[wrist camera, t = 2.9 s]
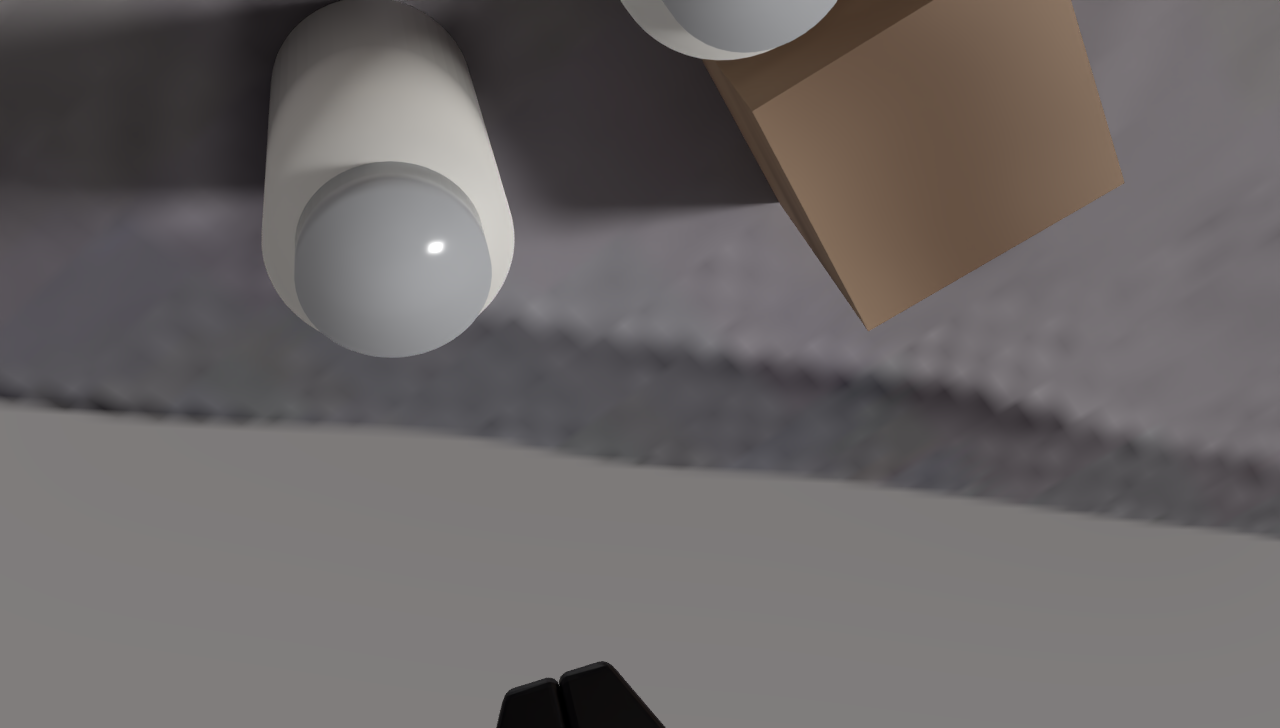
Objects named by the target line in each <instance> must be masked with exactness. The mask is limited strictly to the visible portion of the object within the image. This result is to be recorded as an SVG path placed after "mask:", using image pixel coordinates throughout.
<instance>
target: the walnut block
mask: <svg viewBox="0 0 1280 728" xmlns="http://www.w3.org/2000/svg"><path fill="white" fill-rule="evenodd" d="M702 61H703V63H704V65H705V66H706V68H707V70H708V72H709V74H710V76H711V78H712V79H713V81H714V83H715V85H716V87H717V89H718V90H719V92H720V94H721V96H722V98H723V100H724V102H725V103H726V105H727V107H728V109H729V111H730V113H731V114H732V116H733V118H734V120H735V122H736V124H737V125H738V127H739V129H740V131H741V133H742V135H743V137H744V138H745V140H746V142H747V144H748V146H749V148H750V149H751V151H752V153H753V155H754V157H755V159H756V160H757V162H758V164H759V166H760V168H761V170H762V172H763V173H764V175H765V177H766V179H767V181H768V183H769V184H770V186H771V188H772V190H773V192H774V194H775V195H776V197H777V199H778V201H779V203H780V204H781V206H782V207H783V209H784V210H785V211H786V213H787V214H788V216H789V217H790V219H791V220H792V222H793V223H794V224H795V226H796V227H797V229H798V230H799V232H800V233H801V235H802V236H803V237H804V239H805V240H806V242H807V243H808V245H809V246H810V248H811V249H812V251H813V252H814V253H815V255H816V256H817V258H818V259H819V261H820V262H821V264H822V265H823V266H824V268H825V269H826V271H827V272H828V274H829V275H830V277H831V278H832V279H833V281H834V282H835V284H836V285H837V287H838V288H839V290H840V291H841V292H842V294H843V295H844V297H845V298H846V300H847V301H848V303H849V304H850V305H851V307H852V308H853V310H854V311H855V313H856V314H857V316H858V317H859V319H860V320H861V321H862V323H863V324H864V326H865V327H866V329H867V330H868V331H870V330H871V329H873V328H875V327H877V326H878V325H880V324H882V323H883V322H885V321H887V320H889V319H890V318H892V317H894V316H896V315H897V314H899V313H901V312H902V311H904V310H906V309H908V308H909V307H911V306H913V305H915V304H916V303H918V302H920V301H921V300H923V299H925V298H927V297H928V296H930V295H932V294H934V293H935V292H937V291H939V290H940V289H942V288H944V287H946V286H947V285H949V284H951V283H953V282H954V281H956V280H958V279H959V278H961V277H963V276H965V275H966V274H968V273H970V272H972V271H973V270H975V269H977V268H978V267H980V266H982V265H984V264H985V263H987V262H989V261H991V260H992V259H994V258H996V257H997V256H999V255H1001V254H1003V253H1004V252H1006V251H1008V250H1010V249H1011V248H1013V247H1015V246H1016V245H1018V244H1020V243H1022V242H1023V241H1025V240H1027V239H1029V238H1030V237H1032V236H1034V235H1035V234H1037V233H1039V232H1041V231H1042V230H1044V229H1046V228H1048V227H1049V226H1051V225H1053V224H1054V223H1056V222H1058V221H1060V220H1061V219H1063V218H1065V217H1067V216H1068V215H1070V214H1072V213H1073V212H1075V211H1077V210H1079V209H1080V208H1082V207H1084V206H1086V205H1087V204H1089V203H1091V202H1092V201H1094V200H1096V199H1098V198H1099V197H1101V196H1103V195H1105V194H1106V193H1108V192H1110V191H1111V190H1113V189H1115V188H1117V187H1118V186H1120V185H1122V184H1124V179H1123V176H1122V172H1121V169H1120V166H1119V162H1118V159H1117V155H1116V152H1115V149H1114V145H1113V142H1112V138H1111V135H1110V132H1109V128H1108V125H1107V121H1106V118H1105V115H1104V111H1103V108H1102V104H1101V101H1100V98H1099V94H1098V91H1097V87H1096V84H1095V81H1094V77H1093V74H1092V70H1091V67H1090V64H1089V60H1088V57H1087V53H1086V50H1085V47H1084V43H1083V40H1082V36H1081V33H1080V30H1079V26H1078V23H1077V19H1076V16H1075V13H1074V9H1073V6H1072V2H1071V0H837V2H836V3H835V5H834V6H833V7H832V8H831V10H830V11H829V12H828V13H827V14H826V15H825V16H824V17H823V18H822V19H821V20H820V21H819V22H818V23H817V24H816V25H815V26H814V27H812V28H811V29H810V30H808V31H807V32H806V33H804V34H803V35H801V36H799V37H798V38H796V39H794V40H793V41H791V42H788V43H786V44H784V45H782V46H779V47H776V48H774V49H772V50H770V51H767V52H765V53H761V54H758V55H755V56H752V57H747V58H741V59H735V60H709V59H702Z"/></svg>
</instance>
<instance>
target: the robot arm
mask: <svg viewBox="0 0 1280 728" xmlns="http://www.w3.org/2000/svg"><path fill="white" fill-rule="evenodd" d="M559 685H560V686H559ZM496 728H665V726H663V724H662V723H661V722H660V721H659V719H658V718H657V717H656V716H655V715H654V714H653V712H652V711H651V710H650V709H649V708H648V707H647V705H646V704H645V703H644V702H643V701H642V700H641V698H640V697H639V696H638V695H637V694H636V692H635V691H634V690H633V689H632V688H631V687H630V685H629V684H628V683H627V682H626V681H625V680H624V678H623V677H622V676H621V675H620V674H619V672H618V671H617V670H616V669H615V668H614V667H613V666H612V665H611V664H609V663H607V662H604V661H601V662H597V663H593V664H590V665H587V666H584V667H581V668H577V669H574V670H571V671H567V672H565V673H564V674H563V675H562V676H561V677H560V680H559V684H558V682H557V681H556V680H555V679H553V678H545V679H541V680H538V681H535V682H532V683H529V684H525V685H522V686H519V687H515V688H513V689H511V690H509V691H508V692H507V693H506V695H505V697H504V700H503V702H502V706H501V710H500V714H499V719H498V723H497V727H496Z"/></svg>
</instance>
